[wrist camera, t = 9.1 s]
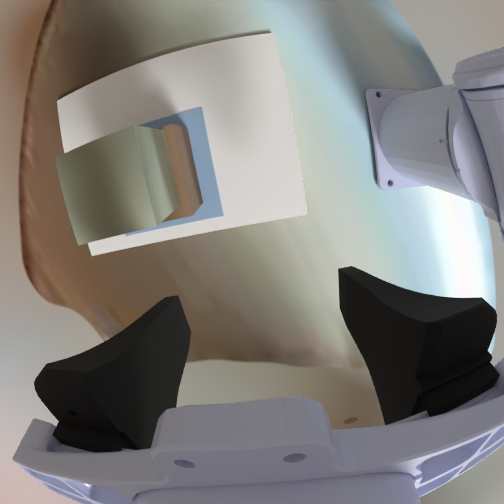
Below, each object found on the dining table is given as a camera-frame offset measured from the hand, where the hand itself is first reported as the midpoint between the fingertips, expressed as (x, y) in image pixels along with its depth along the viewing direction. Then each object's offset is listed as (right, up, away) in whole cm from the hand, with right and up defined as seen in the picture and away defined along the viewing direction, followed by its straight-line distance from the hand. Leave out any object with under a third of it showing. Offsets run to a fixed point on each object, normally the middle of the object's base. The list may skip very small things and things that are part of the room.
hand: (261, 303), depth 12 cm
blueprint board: (-6, +10, +7) cm, 14 cm away
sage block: (-7, +7, +3) cm, 10 cm away
